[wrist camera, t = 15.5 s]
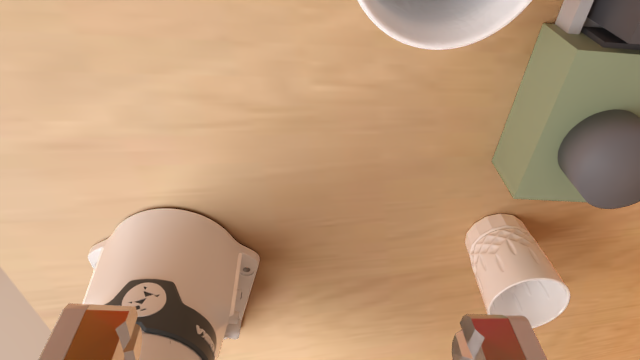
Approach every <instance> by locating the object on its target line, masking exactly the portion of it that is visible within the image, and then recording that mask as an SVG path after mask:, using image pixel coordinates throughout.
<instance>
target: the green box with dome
mask: <svg viewBox="0 0 640 360" xmlns="http://www.w3.org/2000/svg"><path fill="white" fill-rule="evenodd" d="M593 1H594V0H564V1H563V4H562V7H561V9H560V12H559V14H558V17H557V19H556V22H555V24H549V23H543V25H542V28H541V31H540V33H539V36H538V39H537V41H536V44H535V47H534V49H533V52H532V55H531V57H530V60H529V63H528V65H527V68H526V71H525V73H524V76H523V79H522V81H521V84H520V87H519V90H518V92H517V95H516V98H515V100H514V103H513V106H512V108H511V111H510V114H509V116H508V119H507V122H506V124H505V127H504V130H503V132H502V135H501V138H500V140H499V143H498V146H497V148H496V151H495V154H494V157H493V159H492V163H493V165H494V166H495V168H496V170H497V171H498V173H499V175H500V176H501V178H502V180H503V182H504V183H505V185H506V187H507V188H508V190H509V192H510V193H511V195H512V197H513V198H514V199H529V200H550V201H570V202H588V203H589V204H591V205H592V206H595V207H598V208H603V209H615V208H621V207H625V206H629V205H632V204H634V203H637V202H639V201H640V45H639V44H628V43H627V42H625V41H624V40H622V39H620V38H619V37H617V36H616V35H614V34H613V33H611V32H609V31H608V30H606V29H605V28H603V27H602V26H600V25H599V24H597V23H595V22H594V21H592V20H591V19H589V18H588V17H587V15H588V13H589V11H590V8H591V6H592V4H593Z"/></svg>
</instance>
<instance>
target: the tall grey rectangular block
mask: <svg viewBox="0 0 640 360" xmlns="http://www.w3.org/2000/svg"><path fill="white" fill-rule="evenodd" d="M587 17H588V18H589V19H591V20H592V21H594V22H595V23H597V24H599V25H600V26H602V27H603V28H605V29H606V30H608V31H609V32H611V33H613V34H614V35H616V36H617V37H619V38H620V39H622V40H624V41H625V42H627V43H628V44H639V45H640V0H594V1H593V4H592V6H591V8H590V11H589V13H588V15H587Z"/></svg>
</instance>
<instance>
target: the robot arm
mask: <svg viewBox="0 0 640 360" xmlns="http://www.w3.org/2000/svg"><path fill="white" fill-rule="evenodd" d="M88 260H89V262H90V263H91V265H92V267H93V269H94V272H93V274H92V277H91V280H90V283H89V286H88V288H87V291H86V294H85V297H84V300H83V303H82V304H68V305H67V306H66V307H65V308H64V309H63V310H62V312H61V314H60V316H59V318H58V320H57V322H56V324H55V326H54V328H53V330H52V332H51V335H50V337H49V339H48V341H47V343H46V345H45V347H44V349H43V351H42V353H41V355H40V357H39V359H38V360H216V359H217V358H218V356H219V353H220V349H221V346H222V342H223V339H227V338H229V339H238V338H239V334H240V328H241V321H242V318H243V315H244V311H245V308H246V305H247V302H248V298H249V295H250V292H251V289H252V285H253V282H254V279H255V276H256V272H257V269H258V266H259V261H260V257H259V255H258V254H257V253H256V252H254V251H253V250H251V249H249V248H247V247H245V246H243V245H241V244H239V243H238V242H237V241H236V240H235V239H234V238H233V237H232V236H231V235H230V234H229V233H228V232H227V231H226V230H225V229H224V228H223V227H221V226H220V225H219V224H217V223H216V222H214V221H212V220H211V219H209V218H207V217H204V216H202V215H199V214H197V213H193V212H190V211H185V210H180V209H168V208H163V209H152V210H147V211H143V212H140V213H137V214H134V215H132V216H130V217H129V218H127V219H125V220H124V221H123V222H121V223H120V224H119V225H118V227H117V228H116V229H115V230H114V232H113V233H112V235H111V236H110V237H109V238H108V239H106V240H104V241H102V242H99V243H97V244H96V245H94V246H93V247H91V249H90V251H89V254H88ZM246 267H248V268H246ZM460 324H461V328H462V330H461V331H459V332H458V333H456V334H455V336H454V339H453V342H452V357H453V360H547V358H546V356H545V354H544V352H543V350H542V348H541V346H540V344H539V341H538V339H537V337H536V335H535V333H534V331H533V329H532V327H531V325H530V323H529V321H528V319H527V318H526V317H525V316H511V315H504V316H503V315H477V314H466V315H465V316H463V318H462V320H461V322H460Z"/></svg>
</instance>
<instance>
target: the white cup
mask: <svg viewBox="0 0 640 360" xmlns="http://www.w3.org/2000/svg"><path fill="white" fill-rule="evenodd" d="M465 245H466V247H467V250H468V253H469V256H470V259H471V265H472V269H473V272H474V275H475V279H476V281H477V284H478V287H479V290H480V293H481V296H482V299H483V302H484V305H485V308H486V311H487V314H488V315H503V316H504V315H511V316H525V317H526V318H527V319H528V321H529V323H530V325H531V327H532V328H535V327H538V326H541V325H544V324H546V323H548V322H550V321H552V320H553V319H555V318H556V317H558V316H559V315H560V314H561V313H562V312H563V311H564V310H565V309H566V307H567V306H568V304H569V301H570V291H569V289H568V287H567V286H566V284H565V283H564V281H563V280H562V278H561V277H560V275H559V274H558V272H557V271H556V269H555V268H554V266H553V265H552V263H551V262H550V260H549V259H548V257H547V256H546V254H545V253H544V251H543V250H542V249H541V248H540V246H539V244H538V243H537V241H536V240H535V239H534V238H533V237H532V236H531V234H530V233H529V231H528V230H527V228H526V227H525V225H524V223H523V222H522V221H521V220H520V219H518V218H517V217H515V216H514V215H509V214H501V213H499V214H495V215H490V216H486V217H484V218H483V219H481V220H479V221H477V222H476V223H474V224H473V226H472V227H471V228H470V229H469V230H468V232H467V234H466V239H465Z"/></svg>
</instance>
